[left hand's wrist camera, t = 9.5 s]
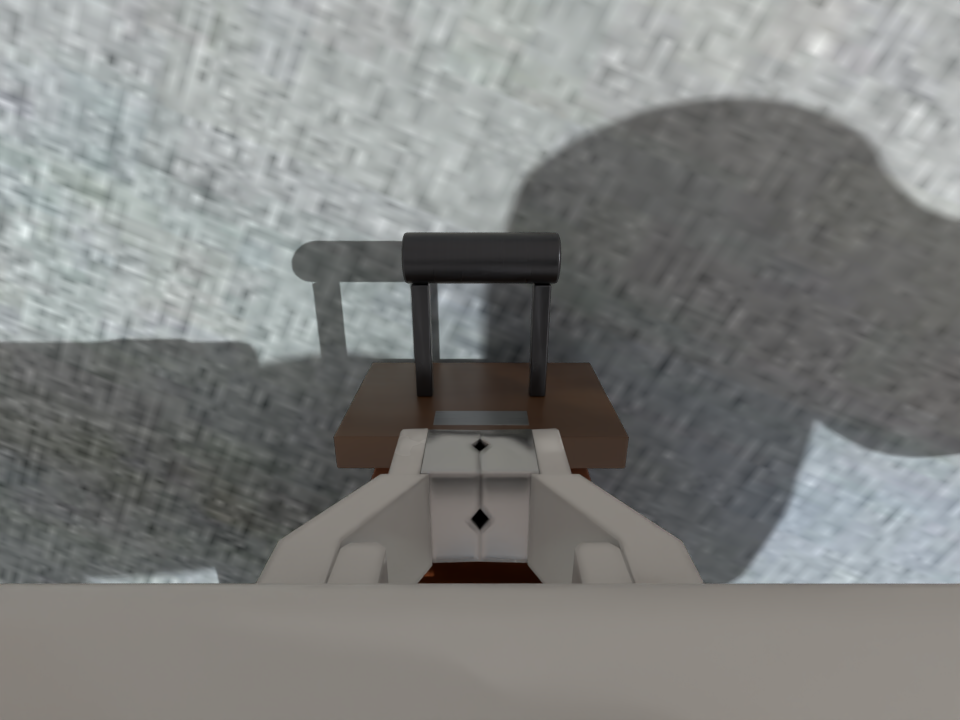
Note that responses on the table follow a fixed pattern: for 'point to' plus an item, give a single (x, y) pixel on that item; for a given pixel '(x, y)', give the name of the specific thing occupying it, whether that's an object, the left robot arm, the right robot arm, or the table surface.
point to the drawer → (481, 379)
